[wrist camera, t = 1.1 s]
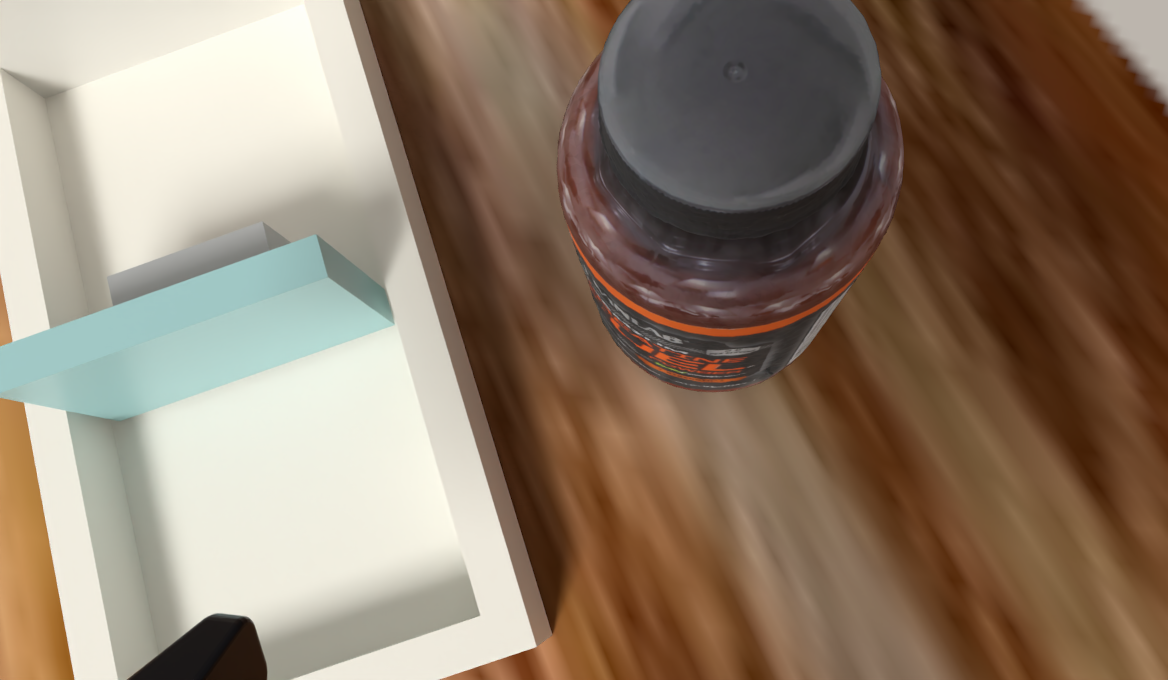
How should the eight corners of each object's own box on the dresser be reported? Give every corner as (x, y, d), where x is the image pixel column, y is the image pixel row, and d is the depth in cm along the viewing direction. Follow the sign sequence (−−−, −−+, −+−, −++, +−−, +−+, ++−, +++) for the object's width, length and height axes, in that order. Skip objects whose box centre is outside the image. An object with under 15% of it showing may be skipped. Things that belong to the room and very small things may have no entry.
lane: (552, 635, 22) (497, 675, 16) (156, 767, 23) (-52, 858, 16) (349, -31, 27) (243, -208, 20) (21, 90, 27) (-184, -47, 21)
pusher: (395, 324, 24) (327, 277, 19) (119, 421, 24) (-9, 396, 19) (367, 228, 24) (295, 161, 20) (99, 323, 24) (-29, 278, 20)
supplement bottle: (564, 355, 24) (457, 202, 13) (639, 149, 25) (600, -158, 14) (789, 431, 23) (883, 335, 12) (858, 213, 24) (1006, -64, 13)
